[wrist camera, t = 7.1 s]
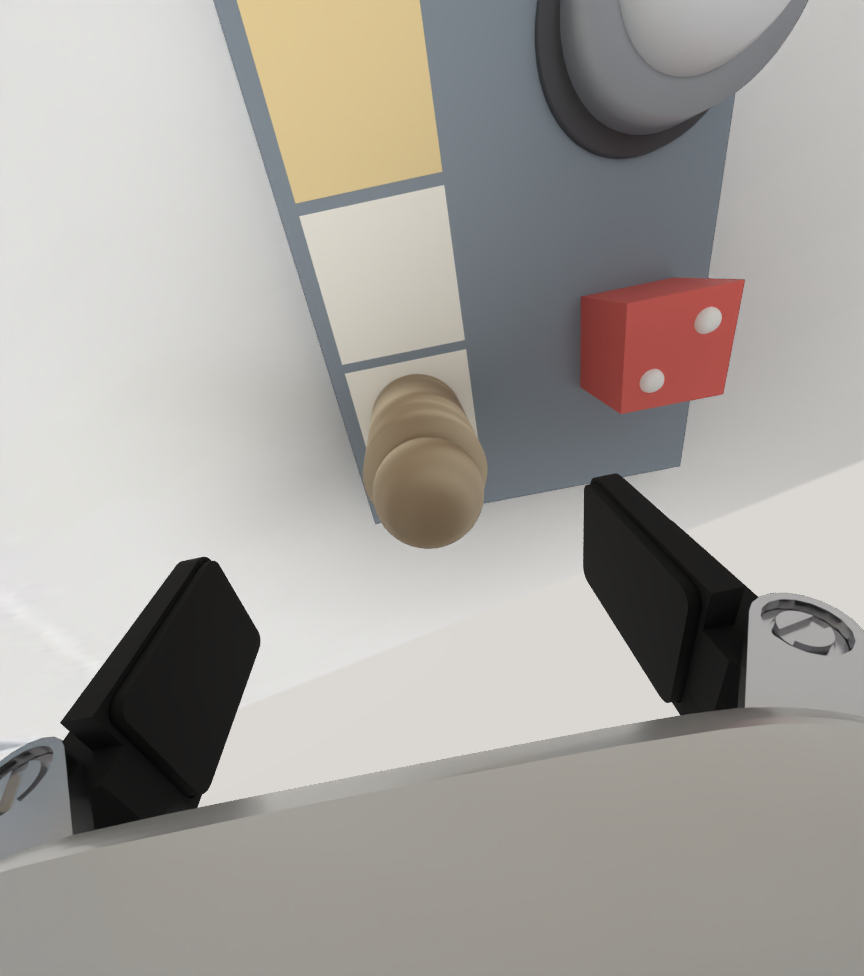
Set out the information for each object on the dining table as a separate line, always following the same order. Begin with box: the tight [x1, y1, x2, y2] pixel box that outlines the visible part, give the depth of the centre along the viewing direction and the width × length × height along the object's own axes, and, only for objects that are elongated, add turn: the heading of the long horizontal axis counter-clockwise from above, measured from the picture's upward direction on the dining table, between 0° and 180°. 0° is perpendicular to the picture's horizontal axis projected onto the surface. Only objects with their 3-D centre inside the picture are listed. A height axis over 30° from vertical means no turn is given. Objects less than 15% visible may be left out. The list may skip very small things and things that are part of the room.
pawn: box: [363, 374, 487, 549], centre depth 15 cm, size 4×4×9 cm
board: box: [213, 0, 745, 524], centre depth 14 cm, size 17×25×6 cm
